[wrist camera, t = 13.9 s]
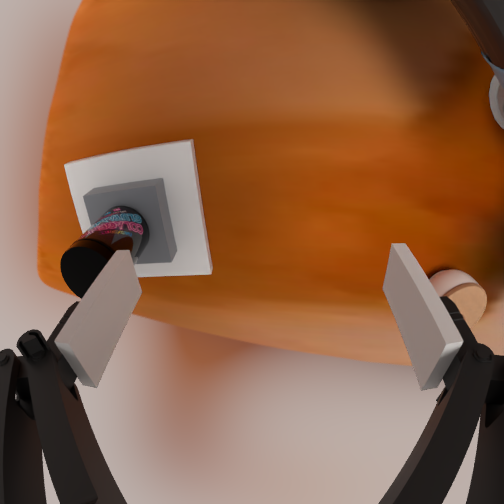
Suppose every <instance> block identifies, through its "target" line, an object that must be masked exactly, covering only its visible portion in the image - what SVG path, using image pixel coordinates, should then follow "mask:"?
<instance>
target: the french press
mask: <svg viewBox="0 0 504 504" xmlns="http://www.w3.org/2000/svg"><path fill="white" fill-rule="evenodd" d="M489 99H490V107H491V110H492V113H493V115H494V118H495V120H496V121H497V123H498V124H499V125H500V127H501V128H503V129H504V89H503V88H502V86H501V85H500V83H499V81H498V79H497V77H496V75H494V77H493V79H492V81H491V84H490V90H489Z"/></svg>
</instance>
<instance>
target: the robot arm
mask: <svg viewBox="0 0 504 504" xmlns="http://www.w3.org/2000/svg"><path fill="white" fill-rule="evenodd" d="M451 2H452V3H453V5H454V6H455V8H456V9H457V11H458V12H459V14H460V15H461V17H462V18H463V20H464V22H465V23H466V25H467V26H468V28H469V30H470V31H471V33H472V35H473V36H474V38H475V40H476V42H477V43H478V45H479V47H480V49H481V54H482V56H483V57H484V59H485V60H486V61H487V63H488V64H490V66H491V68H492V70H493V72H494V74H495V75H496V77H497V79H498V81H499V83H500V85H501V86H502V88H503V89H504V0H451ZM383 291H384V293H385V295H386V298H387V300H388V302H389V305H390V307H391V310H392V312H393V315H394V317H395V320H396V322H397V325H398V327H399V330H400V332H401V335H402V338H403V340H404V343H405V345H406V348H407V351H408V354H409V356H410V359H411V362H412V365H413V368H414V371H415V373H416V376H417V379H418V382H419V385H420V388H421V391H422V390H427V389H432V388H437V387H438V385H439V384H440V382H441V380H442V379H443V380H444V383H445V388H444V389H443V391H442V393H441V394H440V395H439V397H438V398H437V400H436V401H437V404H436V407H435V409H434V411H433V413H432V415H431V417H430V419H429V421H428V423H427V425H426V427H425V429H424V431H423V433H422V435H421V437H420V438H419V440H418V442H417V444H416V446H415V447H414V449H413V451H412V453H411V455H410V456H409V458H408V459H407V461H406V463H405V465H404V466H403V468H402V469H401V471H400V473H399V474H398V476H397V477H396V479H395V480H394V482H393V483H392V485H391V486H390V488H389V489H388V491H387V492H386V494H385V495H384V497H383V498H382V499H381V501H380V502H379V504H442V503H443V501H444V499H445V497H446V495H447V493H448V491H449V489H450V487H451V485H452V483H453V481H454V479H455V477H456V475H457V473H458V471H459V469H460V466H461V464H462V462H463V459H464V457H465V455H466V452H467V450H468V447H469V445H470V442H471V440H472V437H473V434H474V432H475V429H476V426H477V423H478V420H479V417H480V427H479V436H478V444H477V451H476V457H475V463H474V469H473V474H472V479H471V485H470V489H469V493H468V498H467V501H466V504H504V356H500V355H494V354H493V352H492V350H491V349H490V348H489V347H487V346H486V345H484V344H480V343H477V341H476V339H475V337H474V335H473V333H472V332H471V330H470V328H469V326H468V324H467V323H466V321H465V320H464V318H463V316H462V314H461V313H460V311H459V309H458V307H457V306H456V304H455V303H454V302H453V301H452V300H451V299H450V298H448V297H447V296H442V297H439V296H438V294H437V292H436V291H435V289H434V287H433V286H432V284H431V282H430V281H429V279H428V278H427V276H426V274H425V273H424V271H423V270H422V268H421V266H420V265H419V263H418V262H417V260H416V259H415V257H414V256H413V254H412V253H411V251H410V250H409V248H408V247H407V245H406V244H405V243H400V244H392V245H391V250H390V255H389V261H388V266H387V271H386V275H385V280H384V285H383ZM141 294H142V290H141V287H140V284H139V281H138V277H137V274H136V271H135V268H134V264H133V261H132V257H131V254H130V250H117V251H116V252H115V253H114V255H113V256H112V257H111V259H110V260H109V261H108V263H107V264H106V265H105V267H104V268H103V270H102V271H101V272H100V274H99V275H98V276H97V278H96V279H95V281H94V282H93V283H92V285H91V286H90V288H89V289H88V291H87V292H86V293H85V295H84V296H83V298H82V299H81V301H80V302H75V303H74V304H73V305H72V306H71V307H69V308H68V310H67V311H66V313H65V314H64V316H63V317H62V319H61V320H60V322H59V324H58V325H57V326H56V328H55V329H54V331H53V332H52V334H51V335H50V337H49V339H48V340H47V342H46V340H45V338H44V337H43V335H42V333H41V332H40V331H39V330H30V331H27V332H26V333H24V334H23V335H22V336H21V337H20V338H19V340H18V342H17V348H18V349H19V350H20V352H21V354H22V355H23V356H18V357H17V356H16V355H15V353H14V352H13V350H11V349H4V350H2V351H0V504H47V503H46V495H45V487H44V475H43V461H42V449H43V453H44V457H45V460H46V464H47V467H48V470H49V473H50V476H51V480H52V483H53V485H54V488H55V491H56V494H57V496H58V499H59V502H60V504H127V503H126V501H125V499H124V497H123V495H122V493H121V492H120V490H119V488H118V486H117V484H116V482H115V480H114V478H113V476H112V474H111V472H110V470H109V467H108V465H107V463H106V461H105V459H104V457H103V454H102V452H101V450H100V447H99V445H98V443H97V440H96V438H95V435H94V433H93V430H92V428H91V425H90V423H89V420H88V417H87V415H86V412H85V409H84V407H83V403H82V401H81V397H80V394H79V391H78V388H77V386H76V385H75V383H74V382H75V380H76V378H77V377H78V379H79V380H80V382H81V383H82V384H83V385H85V386H90V387H95V388H97V387H98V384H99V382H100V380H101V377H102V375H103V373H104V371H105V368H106V366H107V364H108V362H109V360H110V357H111V355H112V353H113V351H114V348H115V347H116V344H117V342H118V340H119V338H120V336H121V334H122V332H123V330H124V328H125V326H126V324H127V321H128V320H129V318H130V316H131V314H132V311H133V309H134V308H135V306H136V304H137V302H138V300H139V298H140V296H141ZM15 394H16V395H17V397H16V399H15ZM480 414H481V415H480Z"/></svg>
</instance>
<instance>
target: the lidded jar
mask: <svg viewBox="0 0 504 504" xmlns="http://www.w3.org/2000/svg"><path fill="white" fill-rule="evenodd" d="M429 281H430V282H431V284H432V286H433V287H434V289H435V291H436V292H437V294H438V296H439V297H442V296H447V297H448V298H450V299H451V300H452V301H453V302H454V303H455V304H456V306H457V307H458V309H459V311H460V313H461V314H462V316H463V318H464V320H465V321H466V323H467V324H468V326H469V328H470V329H471V328H473V326H474V325H475V324H476V323H477V322H478V321H479V319H480V318H481V316H482V315H483V313H484V310H485V308H486V303H487V296H486V293H485V291H484V289H483V288H482V287H481V286H480V285H479V284H478V283H477V282H476V281H475V280H474V279H473V278H472V277H471V276H470V275H468V274H467V273H465V272H463V271H460V270H455V269H450V270H442V271H439V272H437V273H436V274H434V275H433V276H432V277H431V278H430V279H429Z"/></svg>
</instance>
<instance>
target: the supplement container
mask: <svg viewBox="0 0 504 504" xmlns="http://www.w3.org/2000/svg"><path fill="white" fill-rule="evenodd" d="M149 236H150V234H149V227H148V224H147V222H146V220H145V219H144V217H143V216H142V215H141V214H140V213H139V212H138V211H136V210H135V209H133V208H131V207H128V206H114V207H112V208H110V209H108V210H107V211H106V212H105V213H104V214H103V215H102V216H101V217H100V218H99V219H98V220H97V221H96V222H95V223H94V224H93V225H92V226H91V227H90V228H88V229H87V230H86V231H85V233H84V234H83V235H82V236H81V237H80V238H79V239H78V240H77V241H75V242H74V243H73V244H72V245H71V246H70V248H69V249H68V250H67V251H66V252H65V253H64V254H63V256H62V259H61V273H62V276H63V278H64V280H65V282H66V284H67V285H68V287H69V288H70V289H71V290H72V291H73V292H74V293H75V294H76V295H77V296H78V297H80V298H81V299H82V298H83V296H84V295H85V293H86V292H87V291H88V289H89V288H90V286H91V285H92V283H93V282H94V281H95V279H96V278H97V276H98V275H99V274H100V272H101V271H102V270H103V268H104V267H105V265H106V264H107V263H108V261H109V260H110V259H111V257H112V256H113V255H114V253H115V252H116V251H117V250H130V254H131V257H132V261H133V264H134V265H135V264H136V262H137V261H138V259H139V257H140V256H141V254H142V253H143V251H144V249H145V248H146V246H147V244H148V242H149Z"/></svg>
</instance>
